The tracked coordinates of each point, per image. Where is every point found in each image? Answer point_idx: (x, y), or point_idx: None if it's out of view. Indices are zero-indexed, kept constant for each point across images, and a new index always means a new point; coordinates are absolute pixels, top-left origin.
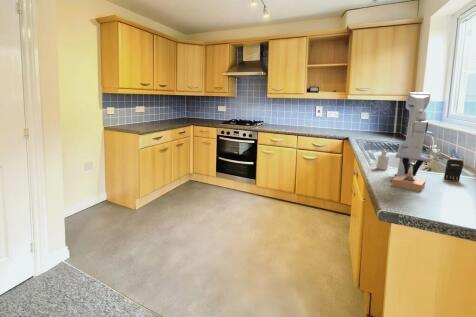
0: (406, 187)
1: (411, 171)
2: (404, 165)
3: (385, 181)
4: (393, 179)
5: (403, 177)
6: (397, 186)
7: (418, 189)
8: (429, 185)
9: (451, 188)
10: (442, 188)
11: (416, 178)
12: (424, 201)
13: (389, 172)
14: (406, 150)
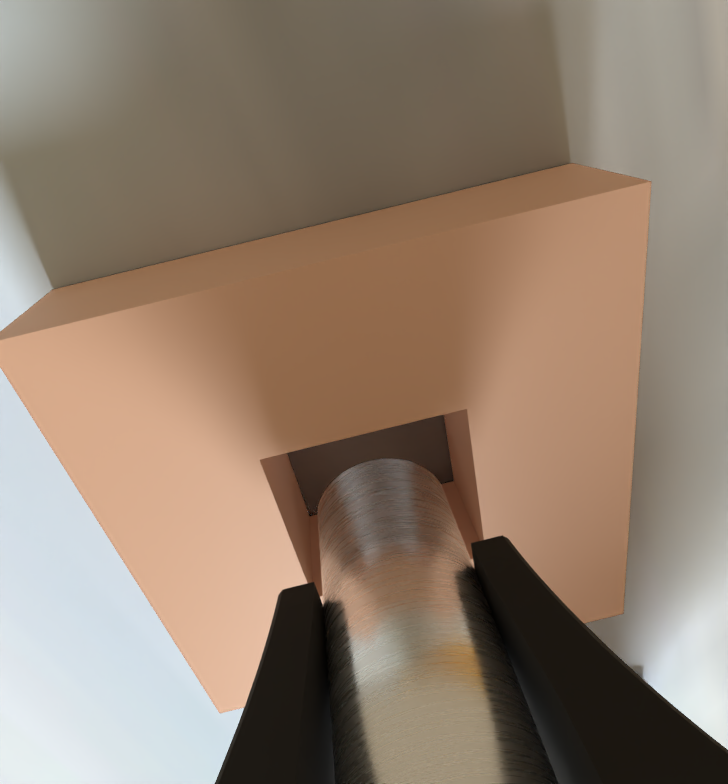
0: (301, 235)
1: (379, 654)
2: (706, 763)
3: (706, 320)
4: (628, 197)
5: None
6: (461, 191)
7: (84, 292)
8: None
9: (17, 769)
10: (55, 700)
11: None
12: None
13: (711, 710)
14: None
